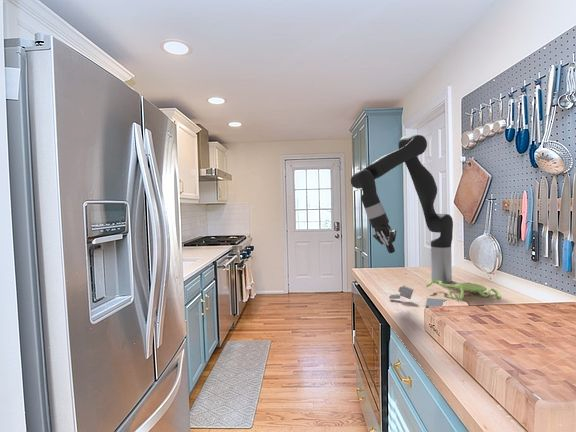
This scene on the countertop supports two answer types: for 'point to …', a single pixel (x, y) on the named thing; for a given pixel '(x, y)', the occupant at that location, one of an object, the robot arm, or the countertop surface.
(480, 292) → the figurine
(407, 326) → the countertop surface
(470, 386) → the countertop surface
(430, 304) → the slate pad
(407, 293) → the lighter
